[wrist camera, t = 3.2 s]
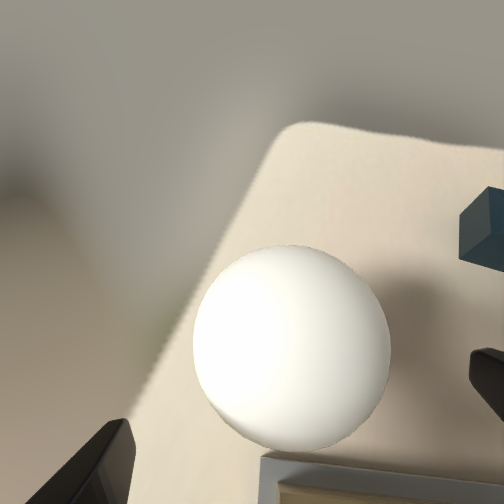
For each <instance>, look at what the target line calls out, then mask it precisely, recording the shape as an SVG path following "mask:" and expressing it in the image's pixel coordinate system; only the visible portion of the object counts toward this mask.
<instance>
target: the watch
mask: <svg viewBox="0 0 504 504" xmlns="http://www.w3.org/2000/svg"><path fill="white" fill-rule="evenodd" d="M459 259H461V260H464V261H468V262H471V263H474V264H478V265H481V266H485V267H488V268H491V269H495V270H498V271H502V272H504V190H502V189H498V188H493V187H489V186H488V187H487V188H486V189H485V190H484V191H483V192H482V193H481V194H480V195H479V196H478V197H477V198H476V199H475V200H474V201H473V202H472V203H471V204H470V205H469V206H468V207H467V208H466V209H465V210H464V211H463V212H462V213H461V214H460V224H459Z"/></svg>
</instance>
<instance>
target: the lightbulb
mask: <svg viewBox="0 0 504 504" xmlns="http://www.w3.org/2000/svg"><path fill="white" fill-rule="evenodd" d="M193 350H194V361H195V368H196V371H197V374H198V378H199V381H200V385H201V387H202V389H203V391H204V393H205V395H206V397H207V398H208V400H209V402H210V404H211V406H212V407H213V408H214V409H215V411H216V412H217V413H218V414H219V415H220V417H221V418H222V419H223V420H224V422H225V423H227V424H228V425H229V426H230V427H232V428H233V429H234V430H235V431H237V432H238V433H239V434H240V435H242V436H243V437H245V438H247V439H249V440H251V441H253V442H255V443H257V444H259V445H261V446H263V447H267V448H271V449H275V450H280V451H284V452H310V451H313V450H317V449H321V448H325V447H329V446H331V445H333V444H335V443H337V442H339V441H340V440H342V439H344V438H346V437H348V436H349V435H351V434H352V433H353V432H354V431H355V430H356V429H357V428H358V427H359V426H360V425H361V424H362V423H363V422H364V421H366V420H367V419H368V418H369V417H370V415H371V413H372V412H373V410H374V409H375V407H376V406H377V404H378V403H379V401H380V400H381V397H382V394H383V392H384V389H385V386H386V383H387V381H388V375H389V368H390V360H391V341H390V332H389V328H388V325H387V321H386V317H385V314H384V312H383V310H382V308H381V306H380V304H379V302H378V300H377V298H376V296H375V295H374V293H373V292H372V291H371V289H370V288H369V286H368V285H367V284H366V282H365V281H364V280H363V279H362V278H361V277H360V276H359V275H358V274H357V273H356V272H355V271H354V270H353V269H351V268H350V267H349V266H347V265H346V264H345V263H343V262H342V261H340V260H339V259H337V258H335V257H333V256H331V255H329V254H327V253H325V252H323V251H319V250H316V249H313V248H310V247H303V246H297V245H279V246H272V247H267V248H262V249H259V250H256V251H254V252H251V253H248V254H246V255H244V256H243V257H241V258H239V259H238V260H236V261H234V262H233V263H232V264H230V265H229V266H228V267H227V268H226V269H225V270H223V271H222V272H221V273H220V275H219V276H218V277H217V278H216V280H215V281H214V282H213V283H212V285H211V286H210V288H209V289H208V291H207V293H206V295H205V297H204V299H203V301H202V303H201V305H200V307H199V311H198V314H197V317H196V321H195V327H194V337H193Z"/></svg>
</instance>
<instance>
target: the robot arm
mask: <svg viewBox="0 0 504 504" xmlns="http://www.w3.org/2000/svg"><path fill="white" fill-rule="evenodd" d="M469 380H470V382H471V384H472V385H473V387H474V388H475V389H476V390H477V392H478V393H479V394H480V395H481V396H482V397H483V399H484V400H485V401H486V402H487V403H488V404H489V406H490V407H491V408H492V409H493V410H494V411H495V413H496V414H497V415H498V416H499V417H500V418H501V420H502V421H503V422H504V352H503V351H499V350H496V349H493V348H482V349H477V350H474V351H472V353H471V355H470V366H469ZM135 456H136V445H135V441H134V437H133V434H132V431H131V427H130V424H129V422H128V420H127V419H125V418H122V419H117V420H112V421H109V422H107V423H106V424H105V425H104V426H103V427H102V428H101V429H100V430H99V431H98V432H97V433H96V434H95V435H94V436H93V437H92V438H91V439H90V440H89V441H88V442H87V443H86V444H85V445H84V446H83V447H82V448H81V449H80V450H79V451H78V452H77V453H76V454H75V455H74V456H73V457H72V458H71V459H70V460H69V461H68V462H67V463H66V464H65V465H64V466H63V467H62V468H61V469H60V470H58V471H57V473H55V474H54V476H52V477H51V479H49V480H48V481H47V482H46V483H45V484H44V485H43V486H42V487H41V488H40V489H39V490H38V491H37V492H36V493H35V494H34V495H33V496H32V497H31V498H30V499H29V500H28V501H27V502H26V503H25V504H127V501H128V495H129V490H130V484H131V478H132V473H133V467H134V461H135Z"/></svg>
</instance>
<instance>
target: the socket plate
mask: <svg viewBox="0 0 504 504" xmlns="http://www.w3.org/2000/svg"><path fill="white" fill-rule="evenodd" d="M258 504H504V485H502V484H494V483H485V482H477V481H468V480H459V479H451V478H442V477H434V476H425V475H417V474H408V473H399V472H391V471H382V470H374V469H365V468H357V467H348V466H340V465H331V464H322V463H314V462H305V461H297V460H288V459H280V458H271V457H262V456H261V461H260V477H259V494H258Z"/></svg>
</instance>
